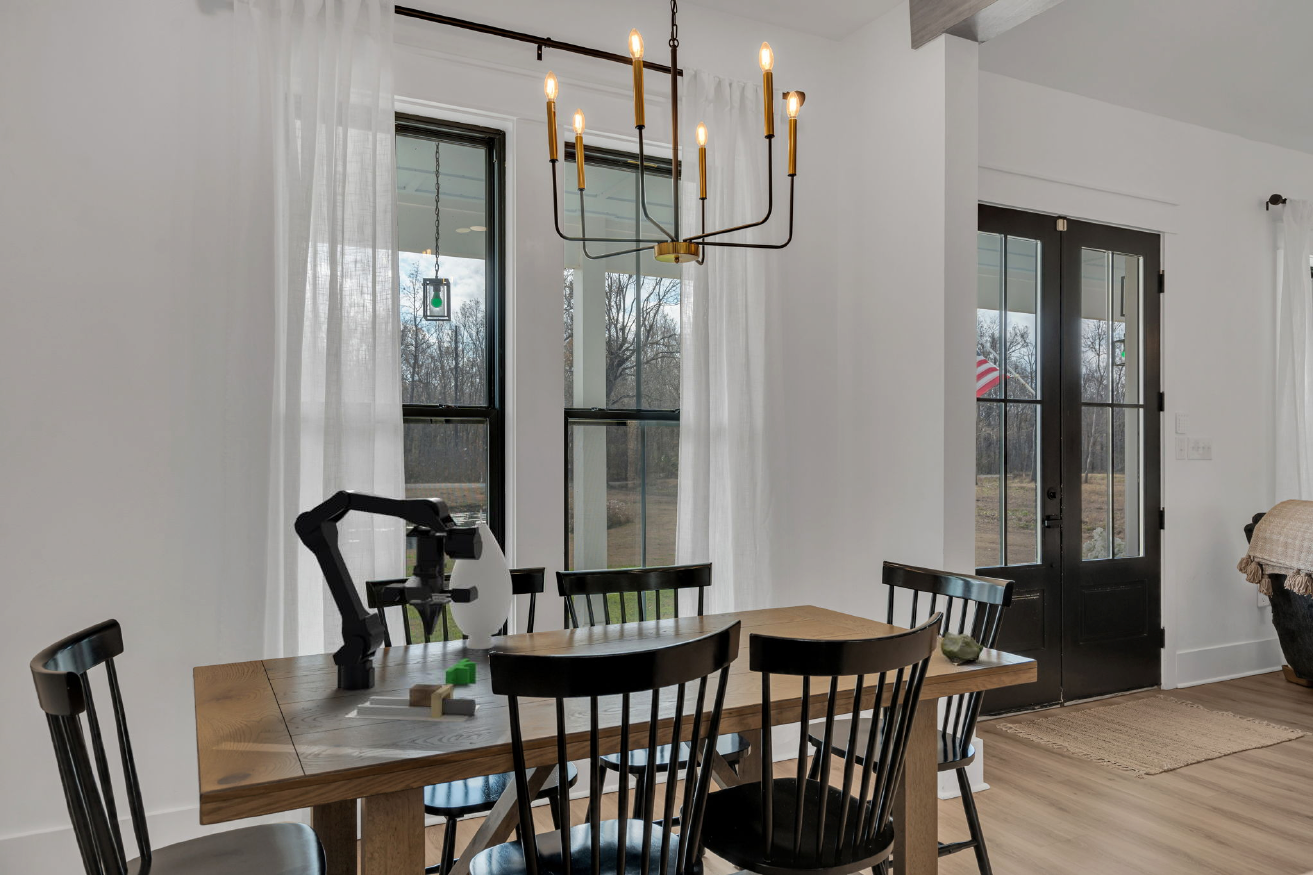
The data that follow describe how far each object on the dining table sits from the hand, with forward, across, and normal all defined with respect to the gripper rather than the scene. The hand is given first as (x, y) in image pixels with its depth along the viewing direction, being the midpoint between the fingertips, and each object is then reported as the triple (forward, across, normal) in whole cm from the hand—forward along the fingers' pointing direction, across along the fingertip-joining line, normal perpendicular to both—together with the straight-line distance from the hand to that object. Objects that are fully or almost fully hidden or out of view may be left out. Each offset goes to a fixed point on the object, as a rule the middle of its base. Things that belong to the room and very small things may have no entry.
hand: (429, 635), depth 178 cm
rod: (+11, +11, -15) cm, 21 cm away
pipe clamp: (+12, +5, +7) cm, 15 cm away
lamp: (+12, -3, +43) cm, 45 cm away
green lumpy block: (+12, +116, +43) cm, 124 cm away
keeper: (+11, +5, -15) cm, 19 cm away
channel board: (+12, +3, -15) cm, 19 cm away
